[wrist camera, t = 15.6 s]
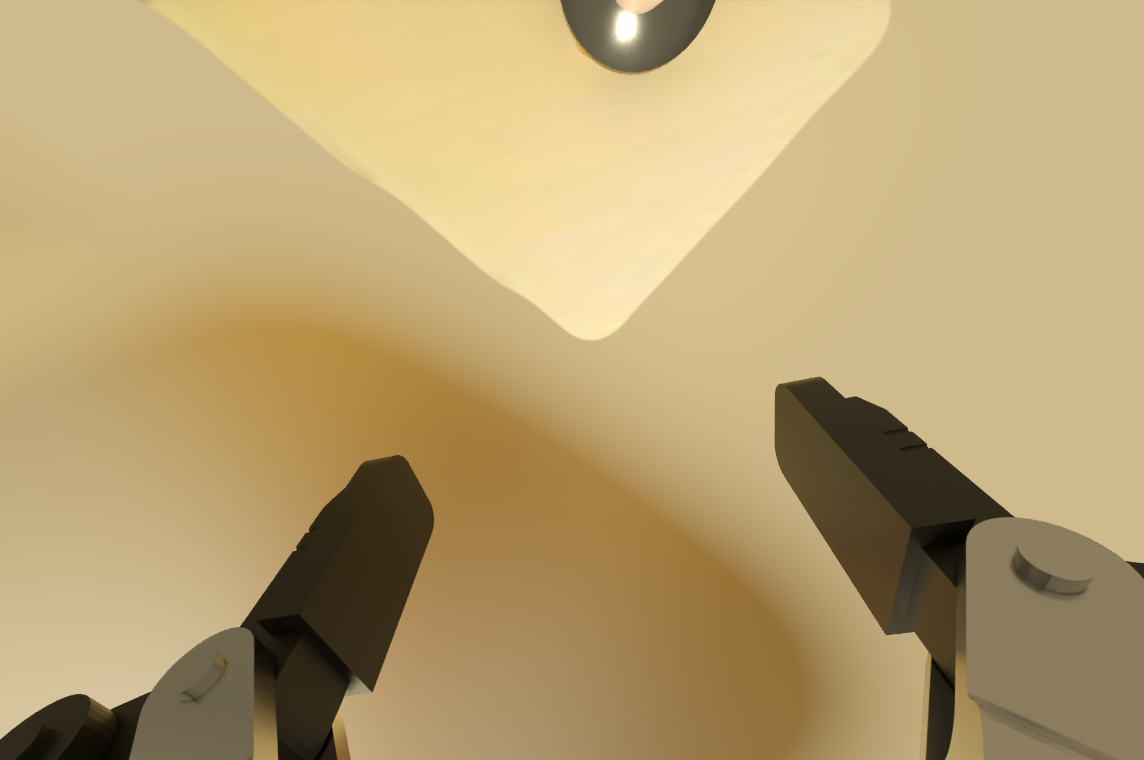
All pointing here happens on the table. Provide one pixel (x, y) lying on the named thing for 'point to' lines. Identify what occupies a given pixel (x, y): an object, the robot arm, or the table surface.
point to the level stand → (634, 32)
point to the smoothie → (638, 5)
